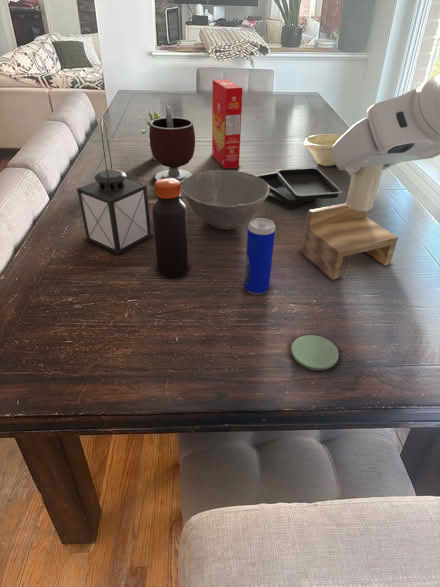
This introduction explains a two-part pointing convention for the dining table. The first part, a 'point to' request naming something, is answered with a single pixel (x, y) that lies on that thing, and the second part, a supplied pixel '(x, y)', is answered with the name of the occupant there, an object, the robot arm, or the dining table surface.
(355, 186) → the cylinder
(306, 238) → the wooden stand
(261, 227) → the beverage can
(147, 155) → the dining table surface
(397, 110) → the robot arm
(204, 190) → the ceramic bowl
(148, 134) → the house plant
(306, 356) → the coaster
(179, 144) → the mate gourd
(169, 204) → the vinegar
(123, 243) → the lantern
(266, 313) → the dining table surface
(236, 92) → the food packaging
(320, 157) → the bowl
